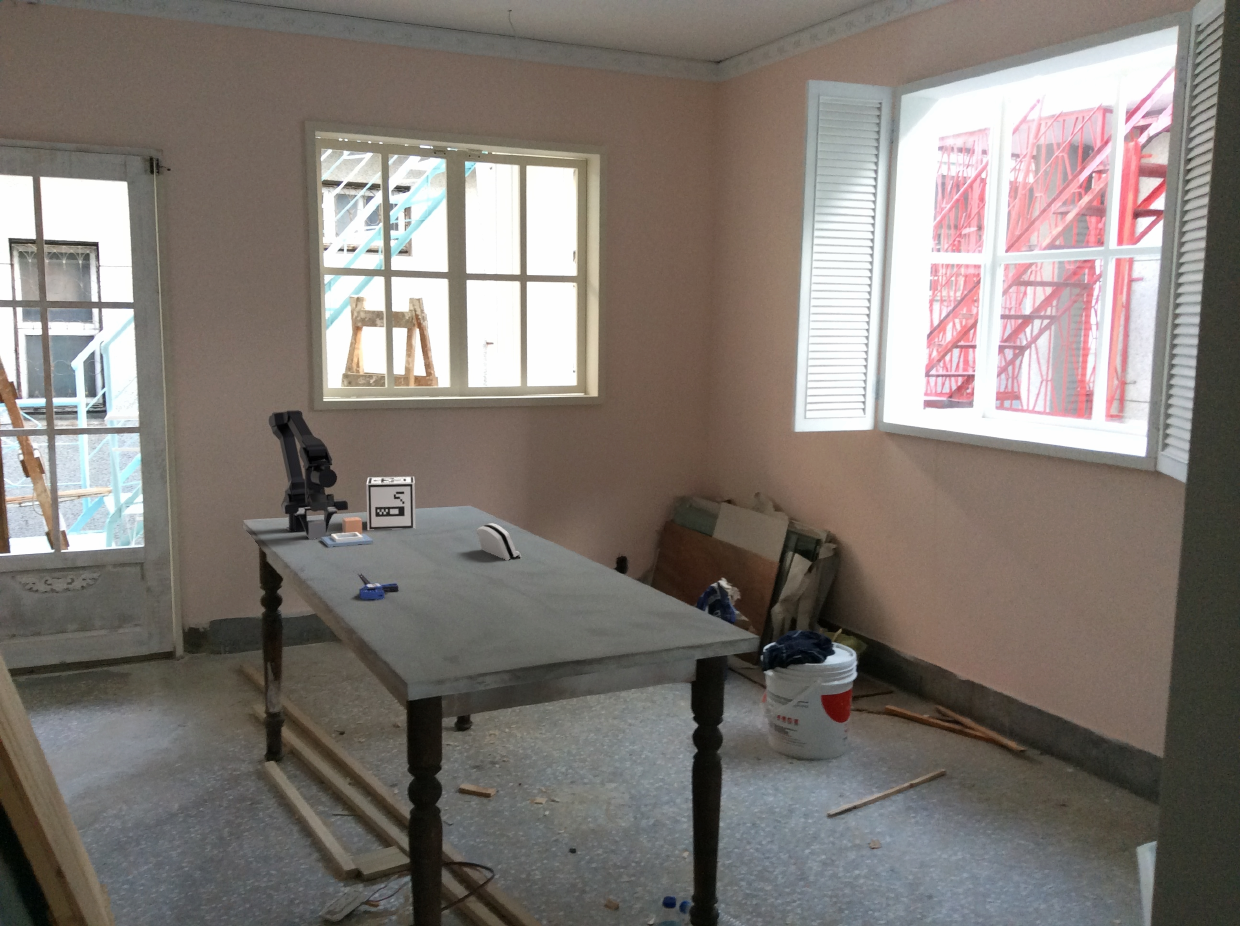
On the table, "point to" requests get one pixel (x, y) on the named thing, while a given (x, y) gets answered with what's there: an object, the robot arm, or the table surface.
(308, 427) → the robot arm
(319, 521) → the charcoal cube
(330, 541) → the board
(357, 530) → the terracotta cube
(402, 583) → the table surface
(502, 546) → the striped white half-disc
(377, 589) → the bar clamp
